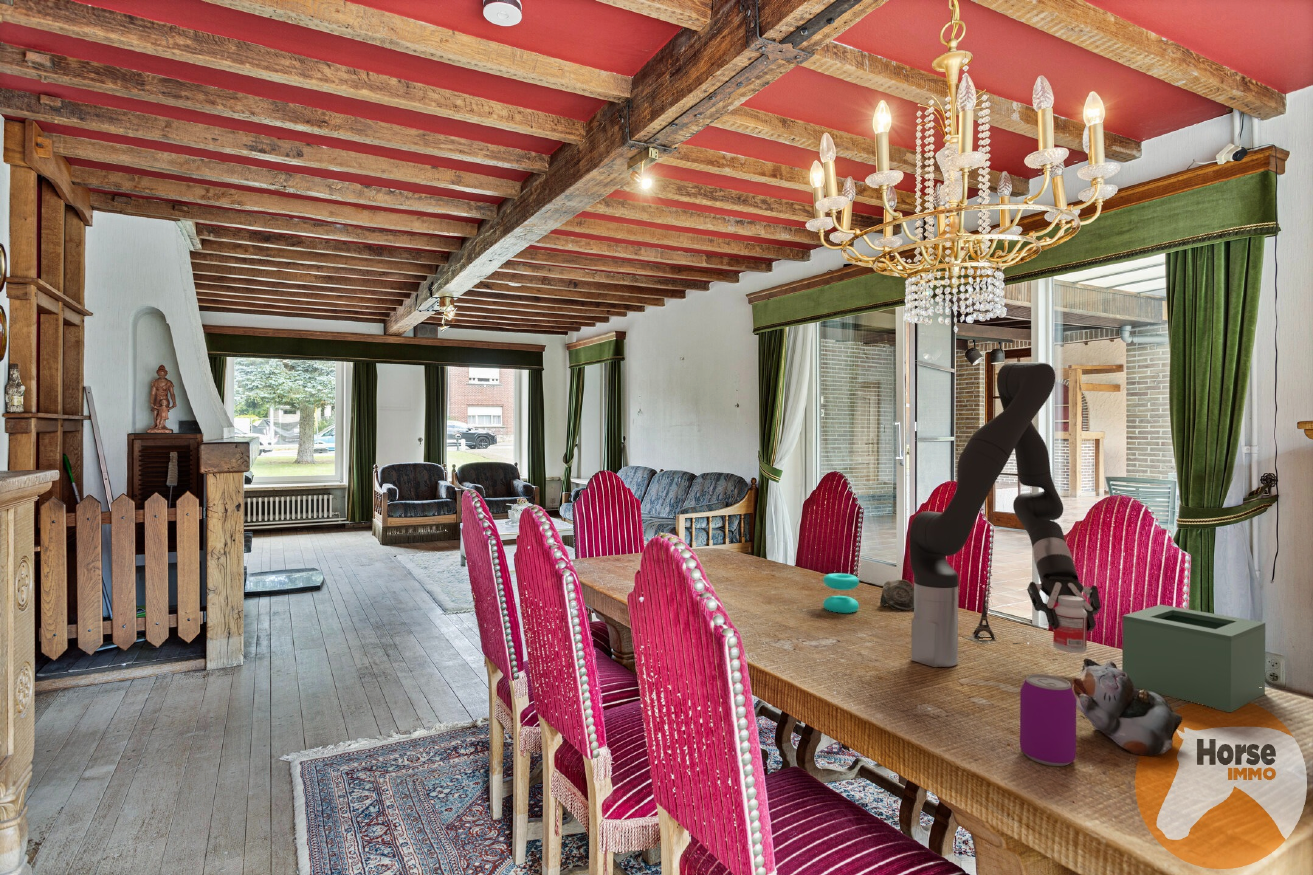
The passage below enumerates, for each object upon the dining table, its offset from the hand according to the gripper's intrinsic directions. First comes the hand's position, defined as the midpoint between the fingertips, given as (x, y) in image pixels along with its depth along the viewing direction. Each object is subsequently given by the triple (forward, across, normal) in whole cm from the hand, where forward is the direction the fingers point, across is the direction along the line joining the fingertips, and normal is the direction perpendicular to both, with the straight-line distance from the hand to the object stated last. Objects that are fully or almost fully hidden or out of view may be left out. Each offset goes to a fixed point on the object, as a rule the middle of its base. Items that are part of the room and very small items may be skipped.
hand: (1073, 628), depth 150 cm
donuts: (-27, -44, +42) cm, 67 cm away
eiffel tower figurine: (-12, -11, +27) cm, 32 cm away
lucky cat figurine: (+31, -4, -16) cm, 35 cm away
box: (+9, +21, +4) cm, 23 cm away
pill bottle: (+3, 0, +5) cm, 5 cm away
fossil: (-32, -27, +47) cm, 63 cm away
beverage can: (+38, -19, -23) cm, 48 cm away
